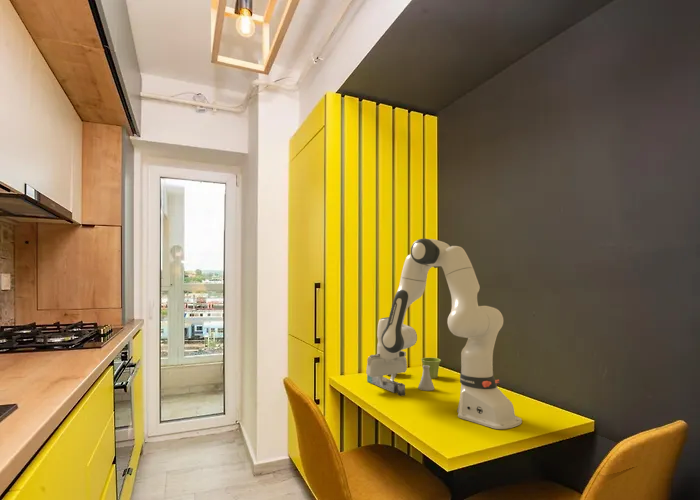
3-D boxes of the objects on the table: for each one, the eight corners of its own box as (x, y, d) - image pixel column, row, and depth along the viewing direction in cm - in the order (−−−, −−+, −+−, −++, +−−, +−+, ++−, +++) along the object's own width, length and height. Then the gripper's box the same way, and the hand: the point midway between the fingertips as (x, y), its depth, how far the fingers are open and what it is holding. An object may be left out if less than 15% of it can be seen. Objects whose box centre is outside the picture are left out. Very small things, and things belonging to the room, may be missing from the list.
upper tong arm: (397, 392, 167) (397, 384, 167) (393, 393, 166) (393, 384, 167) (370, 380, 185) (370, 373, 185) (367, 381, 184) (367, 373, 185)
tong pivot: (406, 394, 165) (406, 383, 165) (400, 396, 163) (400, 384, 163) (401, 393, 167) (401, 382, 168) (395, 394, 166) (395, 383, 166)
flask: (433, 386, 177) (433, 364, 178) (435, 391, 170) (435, 368, 170) (417, 386, 178) (417, 364, 178) (418, 391, 170) (418, 367, 171)
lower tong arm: (401, 391, 168) (401, 383, 169) (397, 392, 167) (397, 384, 168) (373, 380, 186) (373, 373, 186) (370, 380, 185) (370, 373, 185)
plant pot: (440, 380, 188) (440, 362, 189) (420, 378, 191) (420, 360, 191) (441, 375, 197) (441, 358, 198) (422, 374, 200) (422, 357, 200)
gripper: (371, 356, 167) (371, 389, 166) (408, 352, 177) (408, 383, 177) (363, 354, 172) (363, 385, 171) (400, 349, 183) (400, 379, 182)
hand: (386, 384), depth 174 cm, fingers open, 3 cm apart
